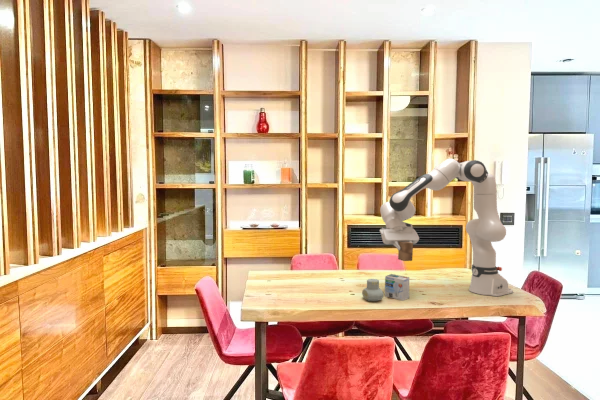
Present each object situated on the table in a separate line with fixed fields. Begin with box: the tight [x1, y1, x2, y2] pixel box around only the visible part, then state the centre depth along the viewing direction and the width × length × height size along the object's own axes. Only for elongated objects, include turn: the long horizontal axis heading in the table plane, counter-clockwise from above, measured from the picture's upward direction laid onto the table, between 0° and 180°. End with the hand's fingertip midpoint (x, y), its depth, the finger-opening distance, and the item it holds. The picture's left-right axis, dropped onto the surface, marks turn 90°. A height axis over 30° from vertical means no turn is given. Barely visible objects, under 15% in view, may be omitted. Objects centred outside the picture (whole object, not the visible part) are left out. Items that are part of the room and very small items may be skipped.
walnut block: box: [397, 242, 414, 262], centre depth 191 cm, size 5×5×9 cm
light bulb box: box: [384, 273, 410, 301], centre depth 192 cm, size 11×7×11 cm, turn 47°
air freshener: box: [361, 278, 385, 302], centre depth 187 cm, size 11×8×10 cm
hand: (405, 249), depth 190 cm, fingers closed on walnut block, 5 cm apart
